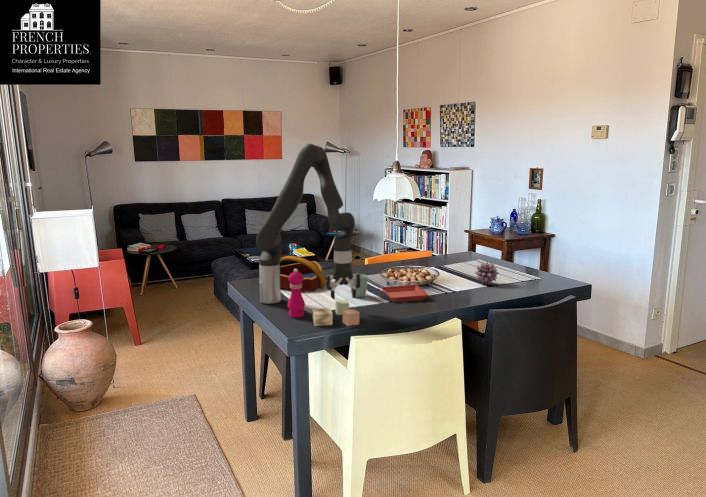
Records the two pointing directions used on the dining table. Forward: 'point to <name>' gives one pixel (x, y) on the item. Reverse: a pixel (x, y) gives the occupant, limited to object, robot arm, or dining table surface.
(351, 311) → the terracotta cube
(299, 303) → the pepper mill
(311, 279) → the decorative basket
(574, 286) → the dining table surface
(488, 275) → the purple spiky ball
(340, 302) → the sage cube
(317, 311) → the birch block
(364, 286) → the cup
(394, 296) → the plant saucer
